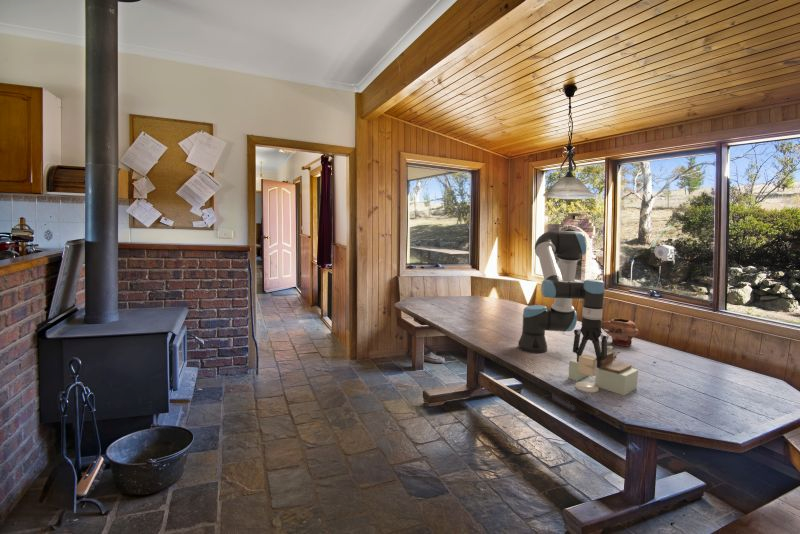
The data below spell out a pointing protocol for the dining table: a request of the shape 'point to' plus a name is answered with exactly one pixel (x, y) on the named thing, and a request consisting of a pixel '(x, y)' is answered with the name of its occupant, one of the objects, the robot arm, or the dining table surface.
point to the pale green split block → (609, 378)
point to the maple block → (586, 364)
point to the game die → (611, 349)
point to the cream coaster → (587, 387)
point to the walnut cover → (613, 364)
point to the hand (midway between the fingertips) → (588, 372)
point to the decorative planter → (621, 331)
